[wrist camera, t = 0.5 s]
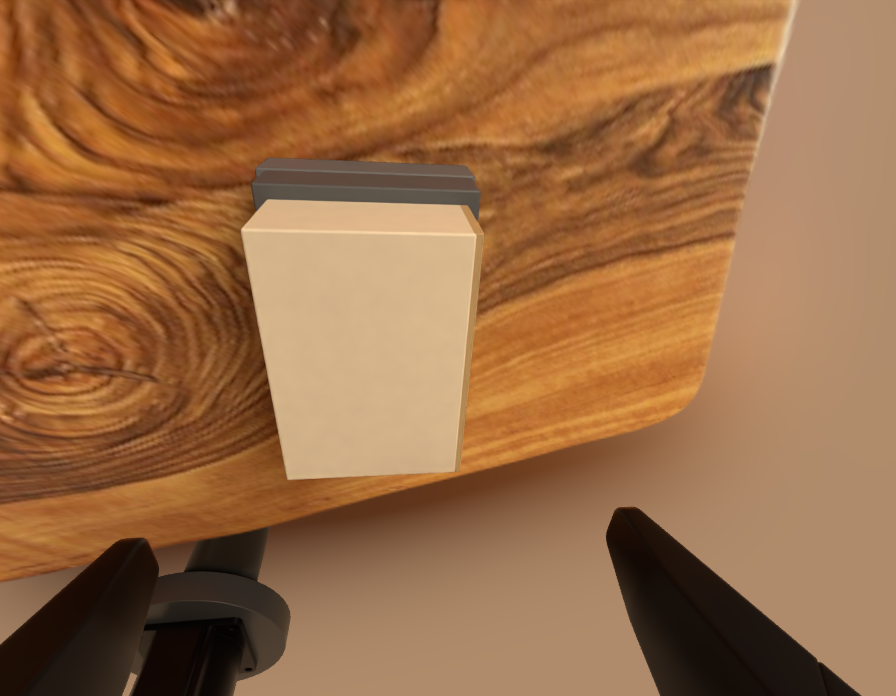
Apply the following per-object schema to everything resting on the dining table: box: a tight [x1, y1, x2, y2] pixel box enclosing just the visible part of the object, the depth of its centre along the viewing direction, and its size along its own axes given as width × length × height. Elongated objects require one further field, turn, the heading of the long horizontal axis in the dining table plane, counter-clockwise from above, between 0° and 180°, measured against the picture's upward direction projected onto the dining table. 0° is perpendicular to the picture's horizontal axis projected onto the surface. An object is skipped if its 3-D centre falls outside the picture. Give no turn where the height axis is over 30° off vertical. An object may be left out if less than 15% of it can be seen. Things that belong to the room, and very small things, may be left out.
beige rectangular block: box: [241, 199, 484, 480], centre depth 15 cm, size 9×6×3 cm
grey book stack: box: [251, 158, 481, 222], centre depth 18 cm, size 10×8×4 cm
